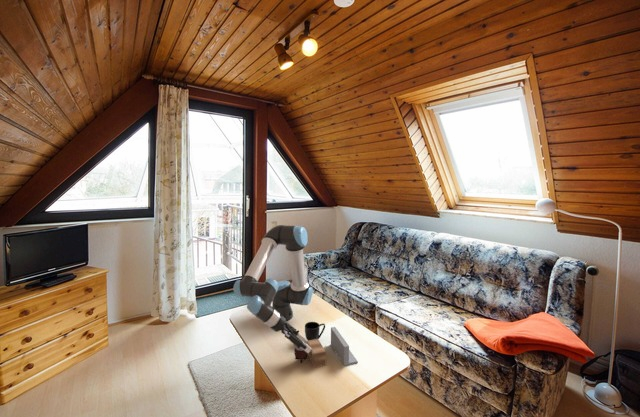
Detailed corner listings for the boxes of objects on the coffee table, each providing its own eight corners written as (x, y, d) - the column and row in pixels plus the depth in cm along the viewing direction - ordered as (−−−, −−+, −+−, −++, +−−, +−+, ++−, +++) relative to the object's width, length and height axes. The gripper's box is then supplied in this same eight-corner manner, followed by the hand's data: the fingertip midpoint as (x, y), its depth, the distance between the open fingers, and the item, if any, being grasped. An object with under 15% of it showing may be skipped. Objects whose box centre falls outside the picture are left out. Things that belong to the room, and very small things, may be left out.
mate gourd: (308, 354, 147) (308, 326, 145) (308, 364, 139) (308, 335, 138) (294, 354, 147) (294, 326, 145) (292, 364, 139) (292, 335, 138)
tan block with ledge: (306, 353, 151) (306, 340, 150) (318, 351, 153) (318, 338, 152) (313, 367, 140) (313, 354, 139) (325, 365, 142) (325, 351, 141)
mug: (327, 342, 161) (327, 326, 160) (307, 346, 157) (307, 330, 156) (322, 334, 169) (322, 319, 168) (302, 338, 165) (302, 323, 163)
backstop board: (330, 344, 159) (330, 327, 158) (342, 342, 161) (343, 325, 160) (344, 366, 141) (344, 346, 140) (357, 363, 143) (357, 344, 142)
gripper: (266, 316, 146) (298, 341, 153) (272, 337, 127) (307, 364, 134) (277, 305, 147) (307, 330, 154) (284, 324, 128) (318, 352, 135)
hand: (307, 346), depth 144 cm, fingers closed on mate gourd, 7 cm apart
